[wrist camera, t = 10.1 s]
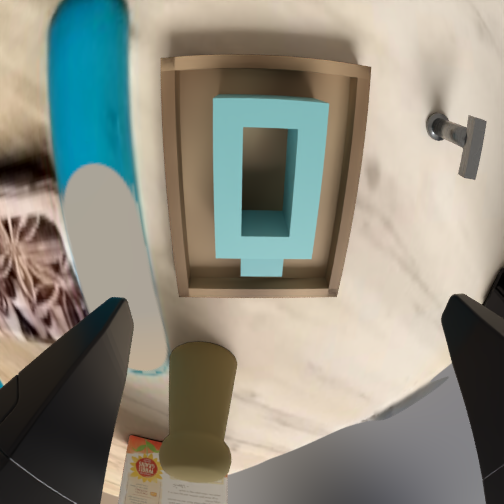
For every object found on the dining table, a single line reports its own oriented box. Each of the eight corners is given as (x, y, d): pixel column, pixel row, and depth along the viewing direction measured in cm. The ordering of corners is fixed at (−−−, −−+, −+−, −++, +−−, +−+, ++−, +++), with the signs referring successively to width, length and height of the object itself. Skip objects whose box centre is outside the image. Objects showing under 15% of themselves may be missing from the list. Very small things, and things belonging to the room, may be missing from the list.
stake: (450, 109, 16) (491, 123, 12) (443, 158, 17) (480, 180, 14) (429, 103, 16) (469, 115, 12) (421, 154, 17) (458, 176, 14)
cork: (163, 340, 25) (139, 461, 16) (235, 341, 25) (234, 467, 16) (176, 382, 28) (162, 486, 19) (238, 382, 28) (239, 490, 19)
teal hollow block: (298, 258, 20) (306, 289, 18) (220, 257, 20) (217, 288, 17) (314, 98, 15) (329, 103, 12) (218, 94, 15) (212, 98, 12)
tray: (359, 67, 15) (371, 67, 13) (331, 280, 22) (336, 296, 21) (168, 59, 14) (160, 58, 13) (183, 280, 22) (179, 296, 20)
